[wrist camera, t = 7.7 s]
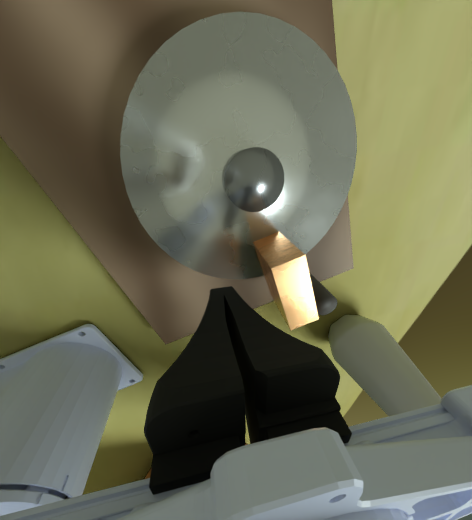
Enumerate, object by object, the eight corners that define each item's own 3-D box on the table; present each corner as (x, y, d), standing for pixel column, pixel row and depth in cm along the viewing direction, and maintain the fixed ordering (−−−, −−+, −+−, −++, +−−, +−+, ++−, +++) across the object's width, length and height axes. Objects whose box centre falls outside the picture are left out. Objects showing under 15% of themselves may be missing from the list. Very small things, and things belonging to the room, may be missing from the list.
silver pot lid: (66, 86, 9) (-34, 30, 5) (333, -22, 9) (441, -163, 5) (201, 314, 16) (203, 365, 12) (353, 252, 16) (406, 283, 12)
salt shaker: (332, 306, 21) (499, 486, 9) (378, 307, 22) (573, 466, 11) (313, 347, 23) (429, 531, 12) (356, 346, 25) (496, 511, 13)
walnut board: (167, 331, 19) (156, 400, 13) (-52, 38, 9) (-394, -129, 4) (342, 260, 18) (401, 301, 13) (301, -108, 9) (448, -479, 4)
